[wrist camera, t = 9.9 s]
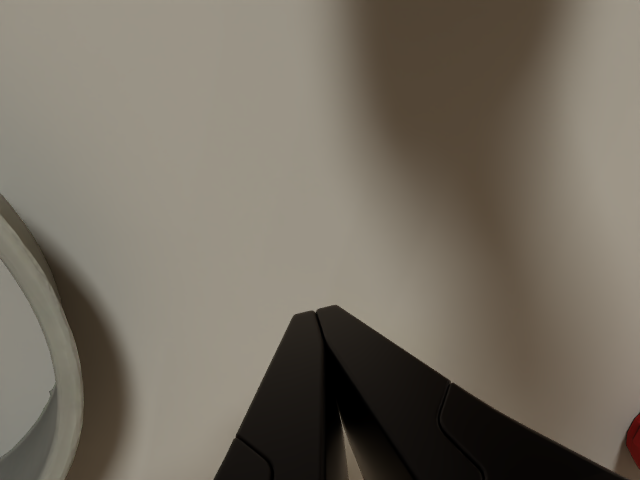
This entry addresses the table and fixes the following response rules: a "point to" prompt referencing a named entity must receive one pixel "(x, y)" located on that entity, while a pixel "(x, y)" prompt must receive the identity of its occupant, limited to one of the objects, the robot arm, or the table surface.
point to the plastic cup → (634, 440)
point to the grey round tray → (67, 394)
